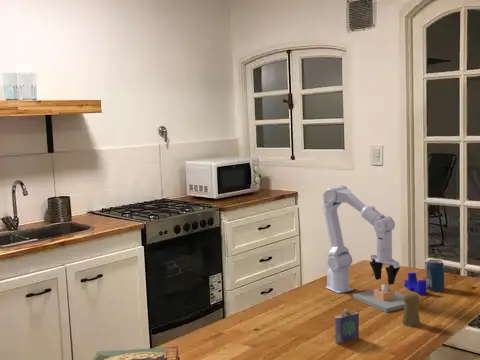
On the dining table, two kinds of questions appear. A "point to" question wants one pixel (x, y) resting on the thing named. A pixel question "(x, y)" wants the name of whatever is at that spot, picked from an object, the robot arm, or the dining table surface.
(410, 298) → the cork
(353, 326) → the flask
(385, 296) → the collar
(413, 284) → the cable clip
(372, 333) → the dining table surface
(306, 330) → the dining table surface
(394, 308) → the post board
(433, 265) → the soda can
